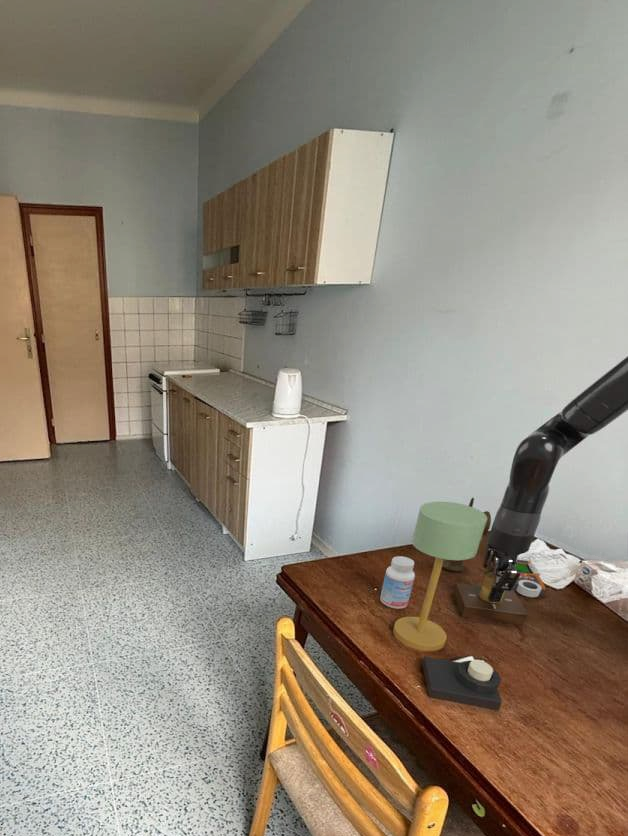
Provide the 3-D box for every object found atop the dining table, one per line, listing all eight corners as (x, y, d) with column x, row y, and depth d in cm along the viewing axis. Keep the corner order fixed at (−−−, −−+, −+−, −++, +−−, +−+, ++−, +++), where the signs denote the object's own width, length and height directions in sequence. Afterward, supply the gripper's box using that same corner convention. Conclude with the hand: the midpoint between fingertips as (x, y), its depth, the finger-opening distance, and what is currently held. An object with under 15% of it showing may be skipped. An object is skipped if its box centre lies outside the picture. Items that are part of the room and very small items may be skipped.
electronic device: (518, 587, 111) (502, 555, 123) (513, 597, 113) (498, 565, 125) (551, 592, 109) (532, 559, 121) (546, 602, 111) (528, 568, 123)
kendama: (475, 576, 120) (498, 504, 111) (433, 571, 123) (453, 500, 114) (470, 565, 125) (492, 495, 116) (430, 560, 128) (449, 491, 119)
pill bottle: (393, 612, 108) (404, 570, 102) (374, 599, 112) (382, 557, 107) (413, 605, 110) (424, 564, 104) (393, 593, 115) (402, 552, 109)
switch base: (487, 676, 89) (493, 660, 87) (500, 711, 81) (507, 694, 80) (422, 665, 92) (426, 649, 90) (428, 697, 85) (434, 681, 83)
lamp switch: (487, 669, 85) (490, 662, 85) (492, 683, 82) (495, 675, 82) (465, 665, 86) (467, 658, 86) (469, 679, 83) (472, 671, 83)
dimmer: (509, 600, 111) (514, 589, 109) (523, 625, 102) (527, 614, 101) (453, 593, 114) (456, 582, 112) (461, 616, 106) (465, 605, 104)
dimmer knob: (476, 591, 109) (483, 569, 106) (497, 593, 108) (505, 571, 105) (482, 602, 105) (490, 579, 102) (504, 604, 104) (512, 581, 102)
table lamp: (442, 625, 103) (479, 504, 90) (452, 657, 94) (494, 528, 80) (388, 617, 106) (416, 499, 93) (392, 647, 97) (424, 521, 83)
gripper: (548, 544, 91) (520, 615, 99) (522, 514, 103) (498, 580, 112) (505, 540, 93) (480, 610, 101) (484, 511, 105) (463, 576, 113)
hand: (490, 594), depth 106 cm, fingers closed on dimmer knob, 4 cm apart
